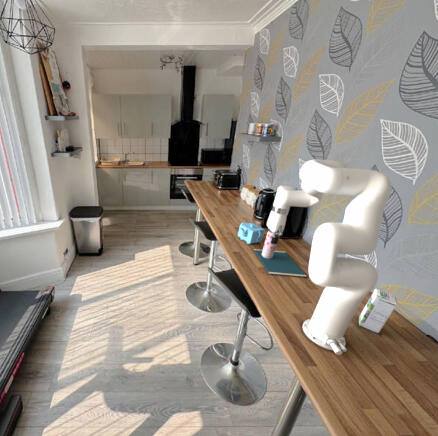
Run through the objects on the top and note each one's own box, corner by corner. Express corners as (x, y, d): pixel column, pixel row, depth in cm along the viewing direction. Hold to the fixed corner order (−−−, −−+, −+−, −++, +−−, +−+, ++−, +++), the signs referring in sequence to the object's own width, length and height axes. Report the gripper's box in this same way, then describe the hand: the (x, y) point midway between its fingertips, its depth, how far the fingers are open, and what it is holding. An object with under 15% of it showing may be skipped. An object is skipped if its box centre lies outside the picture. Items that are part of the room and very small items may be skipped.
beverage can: (273, 259, 128) (280, 235, 122) (261, 257, 130) (268, 233, 124) (271, 254, 133) (278, 230, 127) (260, 252, 135) (267, 229, 129)
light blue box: (268, 244, 145) (272, 227, 140) (245, 248, 138) (249, 231, 134) (249, 233, 158) (253, 217, 154) (227, 236, 152) (231, 220, 147)
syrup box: (358, 316, 93) (374, 287, 87) (378, 324, 90) (396, 295, 84) (358, 325, 89) (375, 295, 83) (379, 334, 85) (398, 303, 80)
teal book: (307, 277, 115) (307, 276, 115) (269, 274, 116) (269, 273, 116) (284, 251, 137) (284, 251, 137) (253, 249, 138) (253, 248, 138)
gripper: (266, 203, 128) (258, 233, 136) (280, 215, 113) (270, 248, 120) (280, 204, 128) (271, 234, 135) (296, 216, 112) (285, 249, 119)
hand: (271, 240), depth 127 cm, fingers closed on beverage can, 5 cm apart
